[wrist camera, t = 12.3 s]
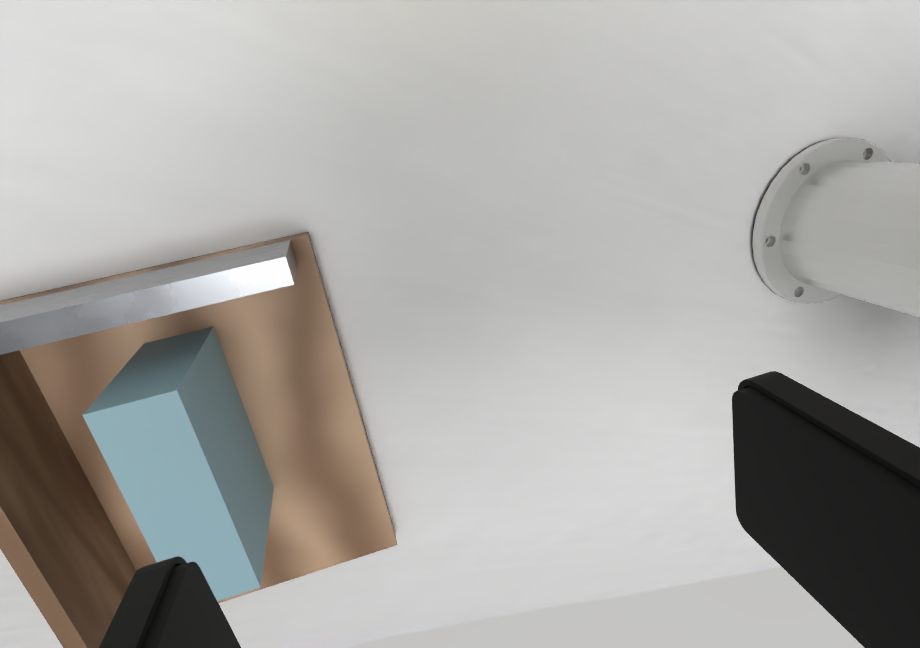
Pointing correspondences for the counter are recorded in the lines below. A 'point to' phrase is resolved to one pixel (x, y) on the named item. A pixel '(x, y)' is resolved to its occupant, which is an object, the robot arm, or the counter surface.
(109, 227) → the counter surface
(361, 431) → the shelf
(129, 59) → the counter surface
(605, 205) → the counter surface
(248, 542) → the book
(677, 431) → the counter surface
